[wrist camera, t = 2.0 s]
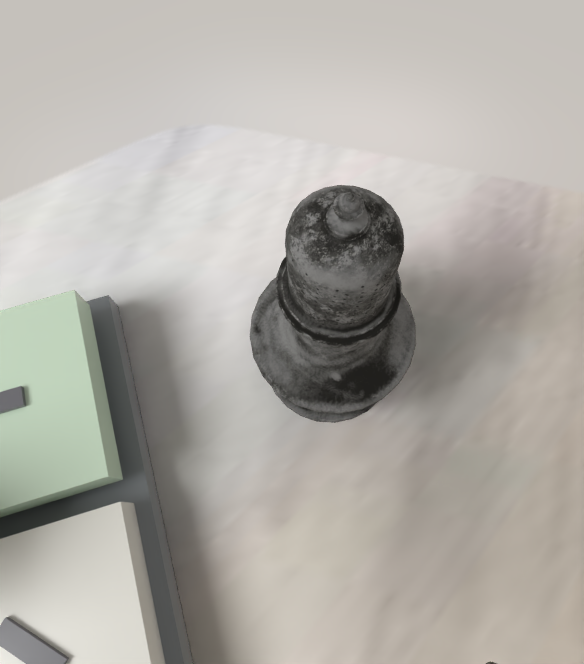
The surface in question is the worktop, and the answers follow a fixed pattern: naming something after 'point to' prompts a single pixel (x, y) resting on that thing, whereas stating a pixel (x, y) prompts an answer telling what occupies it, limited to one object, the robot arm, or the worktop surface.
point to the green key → (52, 405)
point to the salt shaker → (336, 307)
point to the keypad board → (130, 475)
